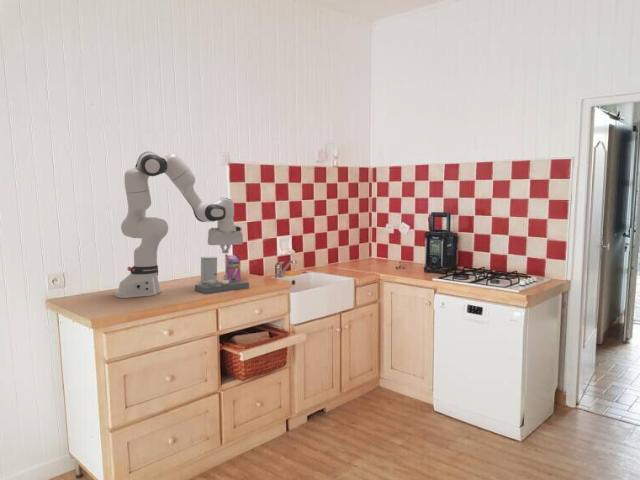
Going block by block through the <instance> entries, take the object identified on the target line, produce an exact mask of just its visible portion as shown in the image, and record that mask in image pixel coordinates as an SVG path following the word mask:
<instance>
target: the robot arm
mask: <svg viewBox="0 0 640 480" xmlns="http://www.w3.org/2000/svg"><path fill="white" fill-rule="evenodd" d="M162 174H164V175H166V176H167V177H168V178H169V180H171V182H172V183H173V185H174V186H175V187H176V188H177V189H178V191H180V193H181V194H182V196H183V197H184V198H185V200H186V201H187V203H188V204H189V206H190V207H191V209H192V210H193V214H194V218H196V220H197V221H199V222H202V223H206V222H207V223H209V222H210V223H211V222H217V227H210V228H209V229H208V231H207V234H208V236H207V244H208V246H220V249H221V251H222V254H229V250H230V248H231V245H232V246H235V245H237V246H238V245H243V243H244V239H243V238H244V237H243V235H244V234H243V227H241V226H239V225H236V224H235V220H234V216H235V205H234V201H233V200H232V199H230V198H227V197H219V198H218V199H217V200H215V201H213V202H210V203H205V202H204V201H202V199H201V198H200V197H199V195H198V194H197V192H196V191H195V188H194V185H195V183H196V177H195V174H194V173H193V171H192V170H191V169H190V167H189V166H188V165H187V163H185V161H184V160H182V158H180V157H179V156H178V155H177V154H175V153H168V154H167V155H164V156H163V157H162V156H159V155H158V154H157V153H155V152H153V151H144V152H143V153H141V154H140V155H139V157H138V158H137V161H136V164H135V166H134V167H133V168H132V167H131V168H130V169H127V170H126V171H125V172H124V188H125V189H124V190H125V194H126V201H127V207H128V208H127V214H126V217H125V218H124V219H123V220H122V223H121V225H120V229H121V233H122V234H123V236H125V237H129V238H130V239H131V238H132V239H141V243H140V244H139V246H137V247H136V248H135V249H134V250H133V266H132V267H131V266H127V268H126V269H127V271H129V272H130V274H128V275H127V276H126V277H125V278H124V279H122V280H121V281H120V282H119V286H118V291H115V292H114V293H113V296H114V297H116V298H120V299H129V298H139V297H140V298H141V297H150V296H156V295H157V294H159V293H161V292H162V290H161V288H160V284H159V283H160V282H159V278H158V276H159V265H158V249H159V246H160V243H161V241H162V239H164V238H165V237H166V236H167V234H168V232H169V225H168V222H167V221H166V219H164V218H159V217H155V216H154V217H151V216H147V214H146V213H147V210H148V209H149V208H150V207H151V205H152V198H151V192H150V187H149V179H150V177H157V176H159V175H162ZM225 246H226V248H225Z"/></svg>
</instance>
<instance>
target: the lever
mask: <svg viewBox="0 0 640 480" xmlns="http://www.w3.org/2000/svg"><path fill="white" fill-rule="evenodd" d="M238 268H240V269H241V264H240V265H239V264H236V270H235V272H234V275H233V277H231V280H235V278H234V277H235V275H236V272H237V270H238Z"/></svg>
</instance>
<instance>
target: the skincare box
mask: <svg viewBox="0 0 640 480" xmlns="http://www.w3.org/2000/svg"><path fill="white" fill-rule="evenodd" d="M207 280H216V282H218V257H217V256H200V282H201V284H206V283H207Z"/></svg>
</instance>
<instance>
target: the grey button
mask: <svg viewBox="0 0 640 480" xmlns="http://www.w3.org/2000/svg"><path fill="white" fill-rule="evenodd" d="M207 284H210V285H212V284H216V280H207Z"/></svg>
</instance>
